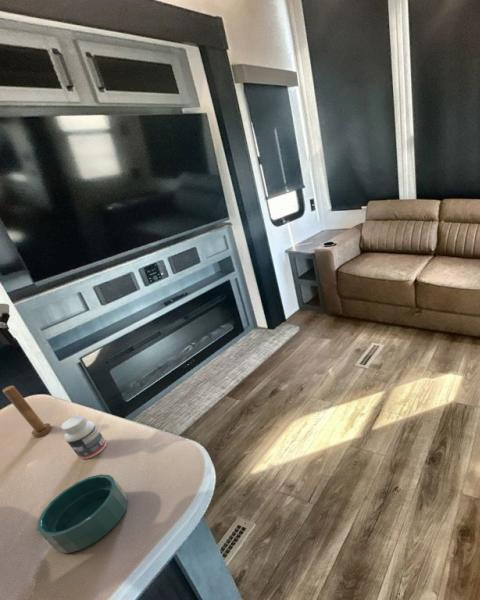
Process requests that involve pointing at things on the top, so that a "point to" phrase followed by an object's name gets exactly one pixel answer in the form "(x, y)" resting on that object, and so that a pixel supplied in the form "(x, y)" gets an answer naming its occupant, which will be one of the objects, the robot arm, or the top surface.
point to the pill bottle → (83, 437)
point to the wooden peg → (27, 412)
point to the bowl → (83, 513)
